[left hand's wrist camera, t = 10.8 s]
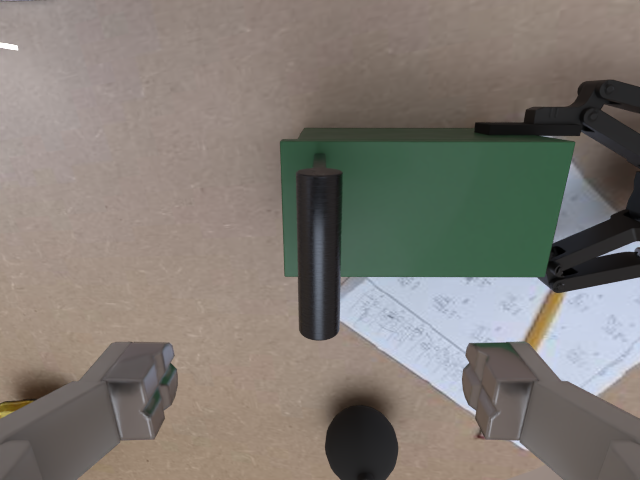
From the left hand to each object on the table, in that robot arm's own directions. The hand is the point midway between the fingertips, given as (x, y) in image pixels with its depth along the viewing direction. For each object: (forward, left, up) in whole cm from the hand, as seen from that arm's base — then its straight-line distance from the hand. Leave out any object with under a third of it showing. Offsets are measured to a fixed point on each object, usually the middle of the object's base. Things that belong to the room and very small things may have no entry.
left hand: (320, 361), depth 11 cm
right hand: (+12, -3, -20) cm, 24 cm away
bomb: (-2, -29, -27) cm, 39 cm away
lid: (+6, -1, -16) cm, 17 cm away
